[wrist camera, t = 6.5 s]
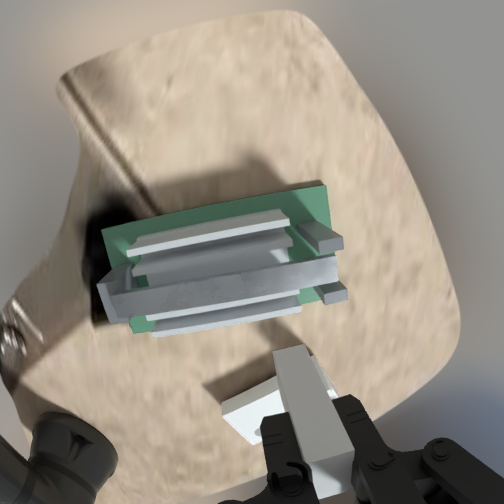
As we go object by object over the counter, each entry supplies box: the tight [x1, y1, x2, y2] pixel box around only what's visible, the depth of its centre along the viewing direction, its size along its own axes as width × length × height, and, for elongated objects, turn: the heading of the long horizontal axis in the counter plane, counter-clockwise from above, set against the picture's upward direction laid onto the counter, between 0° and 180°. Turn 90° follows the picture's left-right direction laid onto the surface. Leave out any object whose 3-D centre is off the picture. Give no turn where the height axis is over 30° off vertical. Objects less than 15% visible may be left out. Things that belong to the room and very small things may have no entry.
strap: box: [110, 253, 338, 319], centre depth 25 cm, size 19×2×1 cm, turn 100°
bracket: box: [222, 355, 340, 445], centre depth 34 cm, size 13×7×8 cm, turn 121°
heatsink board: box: [97, 185, 348, 338], centre depth 28 cm, size 23×12×8 cm, turn 100°
